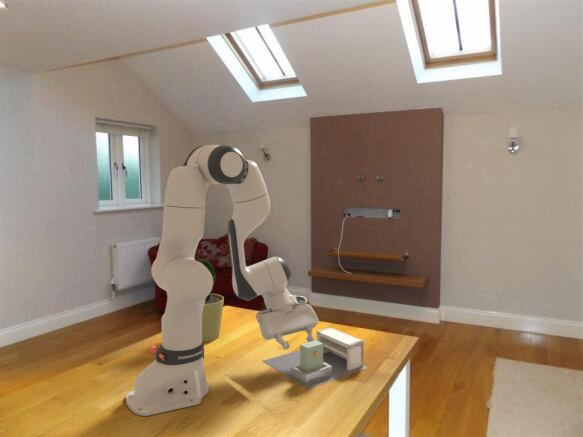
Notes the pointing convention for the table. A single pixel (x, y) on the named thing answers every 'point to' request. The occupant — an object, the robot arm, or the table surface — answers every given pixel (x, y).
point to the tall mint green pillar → (311, 356)
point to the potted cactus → (211, 311)
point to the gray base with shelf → (327, 356)
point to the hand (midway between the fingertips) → (299, 345)
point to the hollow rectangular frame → (311, 374)
